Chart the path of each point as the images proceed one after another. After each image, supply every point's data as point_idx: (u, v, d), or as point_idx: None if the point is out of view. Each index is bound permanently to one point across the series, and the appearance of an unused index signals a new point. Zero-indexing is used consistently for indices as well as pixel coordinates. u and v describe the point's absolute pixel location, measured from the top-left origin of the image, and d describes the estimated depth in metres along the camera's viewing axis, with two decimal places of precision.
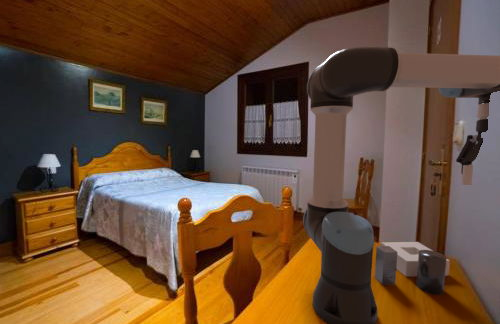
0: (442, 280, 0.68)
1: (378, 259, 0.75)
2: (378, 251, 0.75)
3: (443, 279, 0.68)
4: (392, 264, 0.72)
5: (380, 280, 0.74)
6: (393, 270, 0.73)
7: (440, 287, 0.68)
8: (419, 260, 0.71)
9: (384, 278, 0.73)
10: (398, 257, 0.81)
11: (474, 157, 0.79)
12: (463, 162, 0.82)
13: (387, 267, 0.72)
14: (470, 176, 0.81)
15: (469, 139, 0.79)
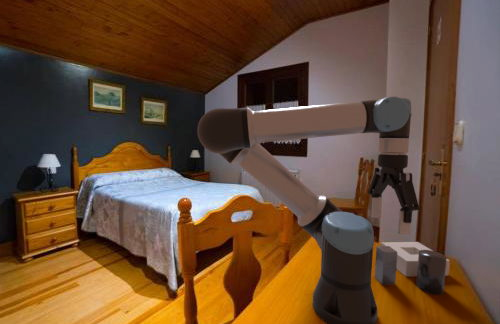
0: (442, 280, 0.68)
1: (378, 259, 0.75)
2: (378, 251, 0.75)
3: (443, 279, 0.68)
4: (392, 264, 0.72)
5: (380, 280, 0.74)
6: (393, 270, 0.73)
7: (440, 287, 0.68)
8: (419, 260, 0.71)
9: (384, 278, 0.73)
10: (398, 257, 0.81)
11: (381, 190, 0.78)
12: (372, 194, 0.80)
13: (387, 266, 0.72)
14: (379, 209, 0.79)
15: (376, 172, 0.78)
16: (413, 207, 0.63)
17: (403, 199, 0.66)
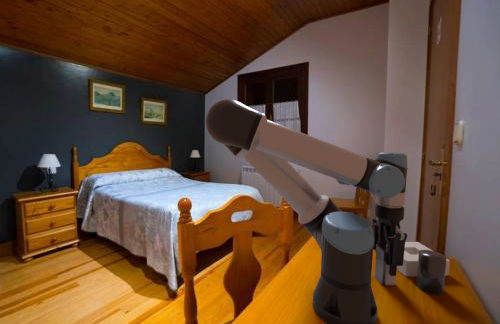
0: (442, 280, 0.68)
1: (378, 259, 0.75)
2: (378, 251, 0.75)
3: (443, 279, 0.68)
4: None
5: (380, 280, 0.74)
6: None
7: (440, 287, 0.68)
8: (419, 260, 0.71)
9: (384, 278, 0.73)
10: None
11: (384, 244, 0.76)
12: None
13: None
14: None
15: (374, 223, 0.79)
16: (397, 264, 0.69)
17: (391, 254, 0.71)
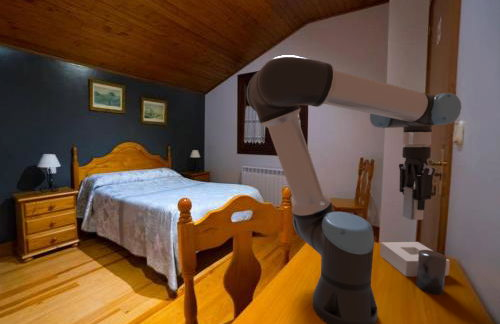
0: (442, 280, 0.68)
1: (406, 198, 0.81)
2: (406, 191, 0.81)
3: (443, 279, 0.68)
4: None
5: (409, 216, 0.80)
6: None
7: (440, 287, 0.68)
8: (419, 260, 0.71)
9: None
10: (398, 257, 0.81)
11: (411, 185, 0.82)
12: None
13: None
14: None
15: (401, 167, 0.85)
16: (426, 197, 0.75)
17: (419, 190, 0.77)
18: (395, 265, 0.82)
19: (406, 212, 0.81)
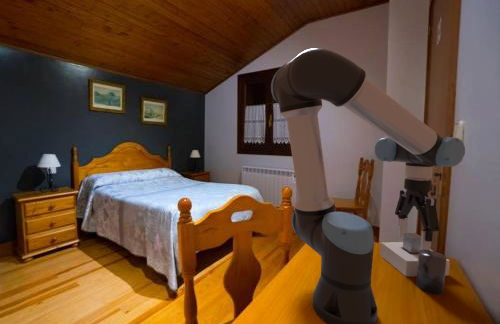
0: (442, 280, 0.68)
1: (405, 244, 0.85)
2: (405, 238, 0.85)
3: (443, 279, 0.68)
4: (419, 248, 0.82)
5: None
6: None
7: (440, 287, 0.68)
8: (419, 260, 0.71)
9: None
10: (398, 257, 0.81)
11: (407, 211, 0.87)
12: (399, 216, 0.89)
13: (414, 251, 0.82)
14: (405, 229, 0.89)
15: (401, 194, 0.88)
16: (434, 229, 0.74)
17: (426, 221, 0.77)
18: (395, 265, 0.82)
19: None
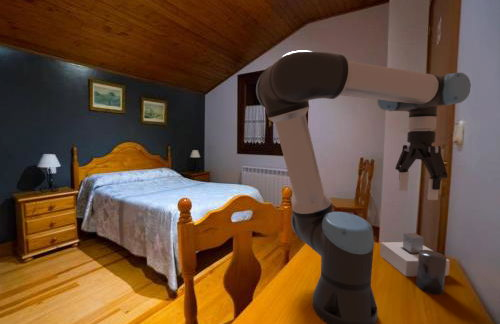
0: (442, 280, 0.68)
1: (405, 244, 0.85)
2: (405, 238, 0.85)
3: (443, 279, 0.68)
4: (419, 248, 0.82)
5: None
6: None
7: (440, 287, 0.68)
8: (419, 260, 0.71)
9: None
10: (398, 257, 0.81)
11: (408, 165, 0.87)
12: (400, 170, 0.89)
13: (414, 251, 0.82)
14: (406, 182, 0.88)
15: (404, 149, 0.87)
16: (442, 175, 0.72)
17: (432, 169, 0.75)
18: (395, 265, 0.82)
19: None
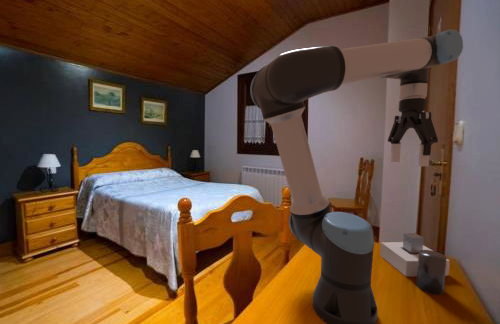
0: (442, 280, 0.68)
1: (405, 244, 0.85)
2: (405, 238, 0.85)
3: (443, 279, 0.68)
4: (419, 248, 0.82)
5: None
6: None
7: (440, 287, 0.68)
8: (419, 260, 0.71)
9: None
10: (398, 257, 0.81)
11: (400, 136, 0.86)
12: (392, 141, 0.89)
13: (414, 251, 0.82)
14: (398, 154, 0.88)
15: (396, 119, 0.87)
16: (432, 139, 0.71)
17: (423, 135, 0.75)
18: (395, 265, 0.82)
19: None
